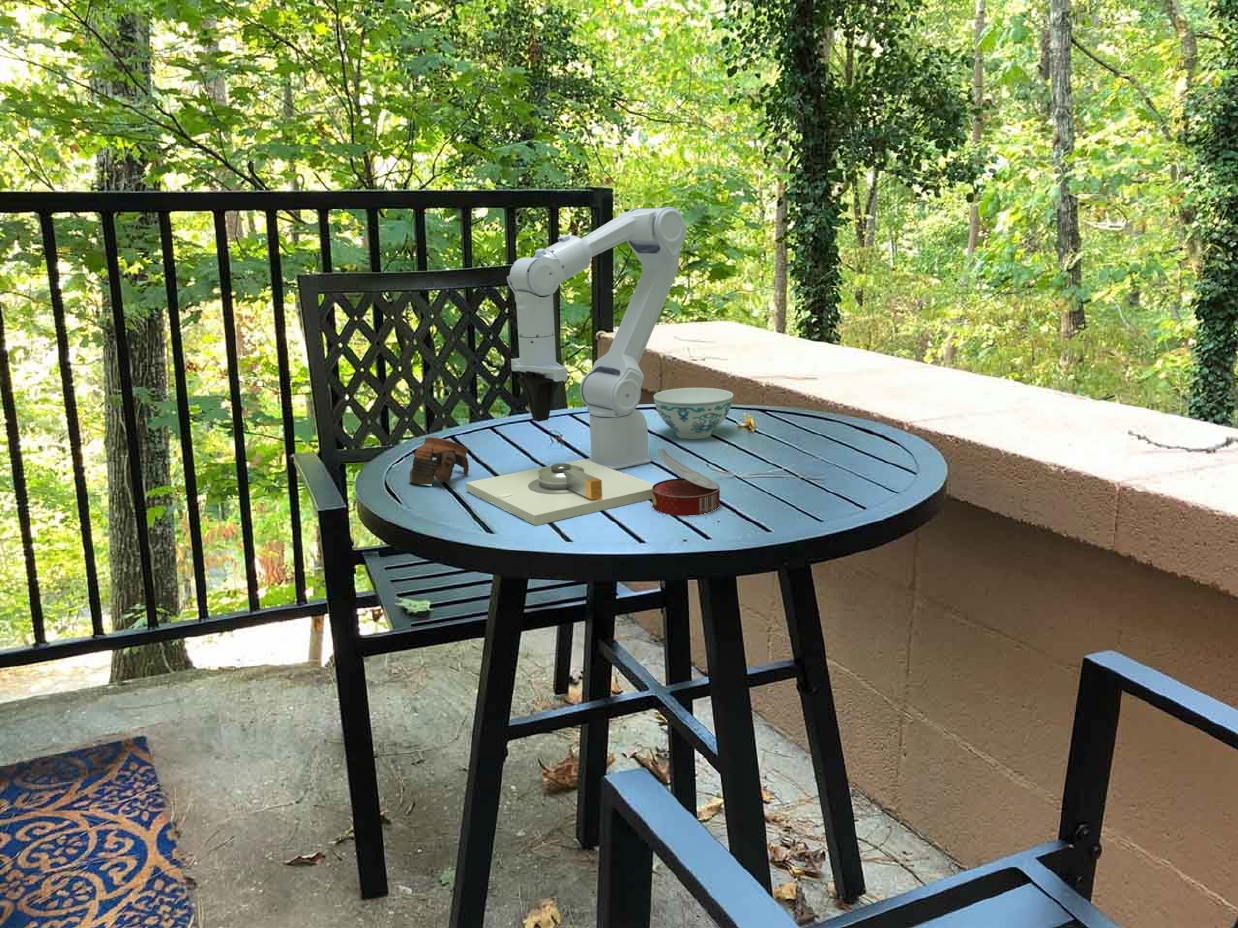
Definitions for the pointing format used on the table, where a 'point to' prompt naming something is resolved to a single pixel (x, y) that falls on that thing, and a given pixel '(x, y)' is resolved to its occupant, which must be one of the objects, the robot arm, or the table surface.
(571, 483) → the dial
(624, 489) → the panel
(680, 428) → the chinaware
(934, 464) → the table surface
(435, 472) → the brown ridged arch
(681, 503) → the canned food
